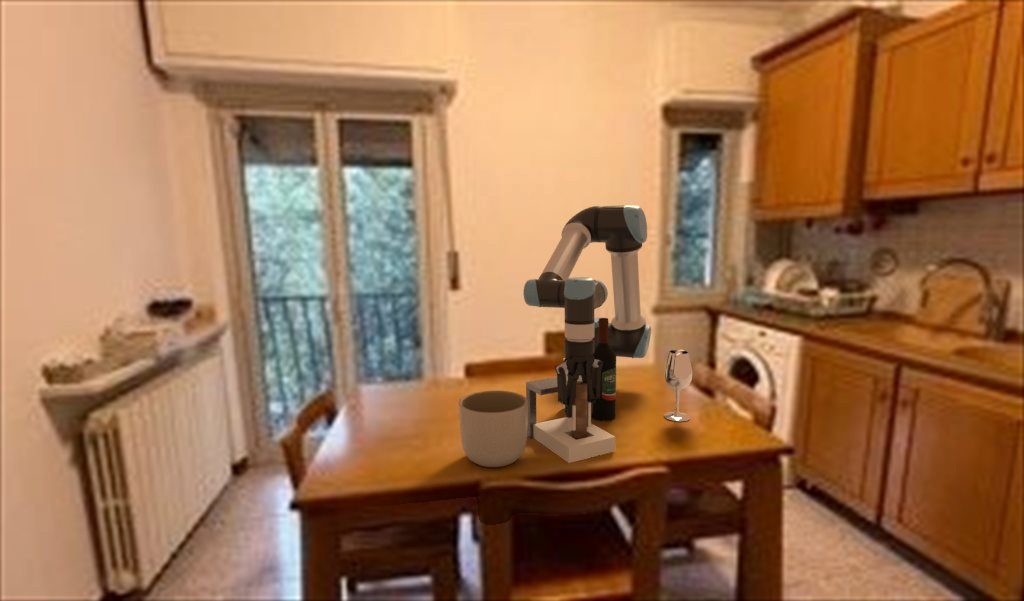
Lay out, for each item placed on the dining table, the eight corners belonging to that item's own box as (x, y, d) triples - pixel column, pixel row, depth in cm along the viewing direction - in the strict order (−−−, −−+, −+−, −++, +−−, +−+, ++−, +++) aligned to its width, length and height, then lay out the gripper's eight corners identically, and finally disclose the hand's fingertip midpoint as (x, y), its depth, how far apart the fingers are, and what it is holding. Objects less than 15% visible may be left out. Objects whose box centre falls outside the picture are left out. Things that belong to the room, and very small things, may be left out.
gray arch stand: (575, 425, 163) (575, 373, 160) (591, 435, 156) (591, 380, 153) (526, 436, 156) (526, 381, 153) (541, 446, 149) (540, 389, 146)
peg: (581, 438, 149) (581, 380, 147) (590, 444, 146) (590, 384, 143) (568, 441, 147) (568, 382, 145) (577, 447, 144) (577, 386, 142)
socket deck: (576, 428, 161) (576, 415, 160) (615, 451, 145) (615, 436, 144) (533, 437, 154) (533, 424, 154) (568, 463, 139) (568, 447, 138)
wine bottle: (600, 410, 175) (600, 315, 170) (620, 416, 169) (621, 318, 165) (584, 417, 170) (585, 319, 165) (605, 423, 164) (606, 322, 160)
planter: (532, 472, 134) (531, 411, 132) (460, 476, 133) (458, 414, 130) (524, 443, 151) (524, 389, 148) (460, 447, 149) (459, 391, 147)
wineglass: (658, 417, 168) (660, 352, 165) (671, 410, 174) (672, 347, 171) (683, 424, 163) (685, 356, 160) (695, 416, 168) (697, 351, 165)
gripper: (598, 332, 150) (597, 416, 153) (542, 339, 142) (543, 428, 146) (615, 337, 143) (614, 425, 146) (558, 345, 135) (558, 438, 139)
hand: (579, 426), depth 146 cm, fingers closed on peg, 4 cm apart
